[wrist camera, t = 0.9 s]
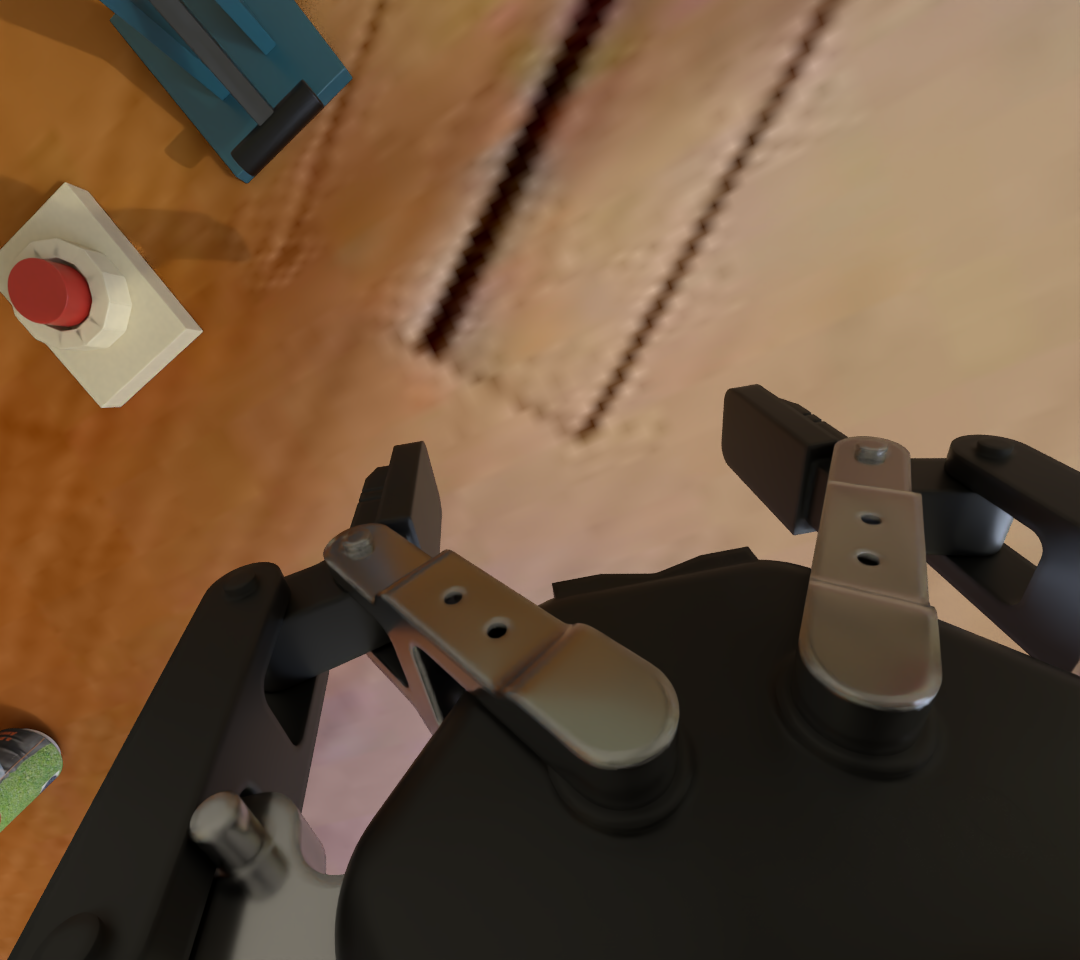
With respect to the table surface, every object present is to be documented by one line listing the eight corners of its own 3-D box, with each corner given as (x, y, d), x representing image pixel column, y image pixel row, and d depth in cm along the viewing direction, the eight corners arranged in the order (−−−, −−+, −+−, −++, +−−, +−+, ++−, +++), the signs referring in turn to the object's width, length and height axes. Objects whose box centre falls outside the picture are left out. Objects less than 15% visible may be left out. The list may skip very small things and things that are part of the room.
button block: (6, 274, 38) (-50, 263, 34) (88, 190, 36) (37, 170, 33) (121, 407, 39) (77, 409, 35) (203, 331, 37) (166, 326, 34)
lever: (327, 108, 29) (321, 103, 27) (259, 177, 30) (247, 177, 28) (83, -198, 22) (49, -236, 20) (3, -97, 23) (-37, -124, 21)
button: (23, 290, 34) (-6, 285, 33) (62, 250, 34) (34, 243, 32) (65, 339, 35) (39, 336, 33) (104, 301, 34) (79, 296, 33)
